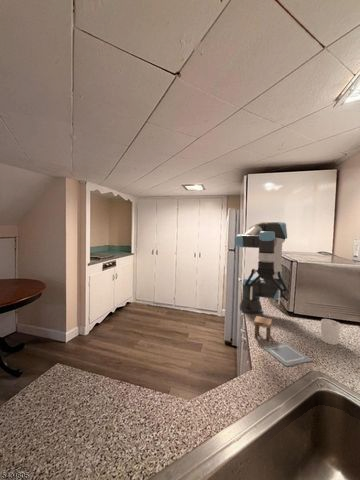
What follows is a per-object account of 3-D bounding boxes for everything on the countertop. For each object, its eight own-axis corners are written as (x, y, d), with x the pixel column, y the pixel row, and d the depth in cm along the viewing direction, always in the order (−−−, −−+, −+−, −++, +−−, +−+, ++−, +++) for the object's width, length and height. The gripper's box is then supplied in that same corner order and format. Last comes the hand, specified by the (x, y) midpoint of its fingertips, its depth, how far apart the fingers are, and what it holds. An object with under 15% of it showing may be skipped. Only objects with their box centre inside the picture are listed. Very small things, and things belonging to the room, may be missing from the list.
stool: (253, 337, 105) (253, 321, 105) (255, 331, 112) (256, 315, 112) (270, 342, 102) (270, 324, 101) (271, 335, 109) (272, 319, 108)
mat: (262, 347, 96) (262, 346, 96) (286, 343, 100) (286, 342, 100) (285, 366, 83) (286, 365, 83) (312, 361, 87) (312, 360, 87)
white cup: (339, 347, 98) (340, 327, 98) (319, 342, 103) (320, 322, 102) (339, 340, 104) (340, 321, 104) (320, 335, 109) (321, 317, 109)
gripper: (240, 259, 108) (238, 299, 109) (293, 264, 96) (292, 308, 97) (242, 258, 115) (241, 295, 115) (293, 262, 103) (291, 303, 104)
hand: (264, 301), depth 106 cm, fingers open, 13 cm apart
